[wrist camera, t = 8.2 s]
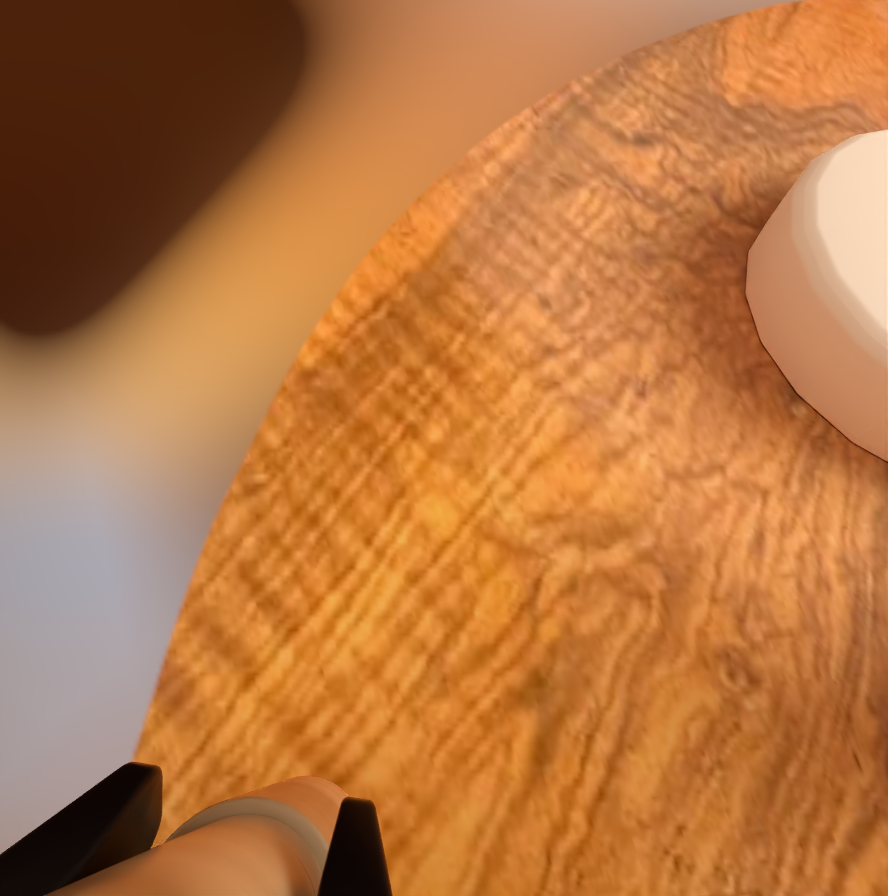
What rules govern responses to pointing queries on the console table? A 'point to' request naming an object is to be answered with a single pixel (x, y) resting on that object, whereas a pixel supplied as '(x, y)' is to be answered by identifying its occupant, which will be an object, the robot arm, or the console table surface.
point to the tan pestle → (235, 848)
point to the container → (831, 287)
